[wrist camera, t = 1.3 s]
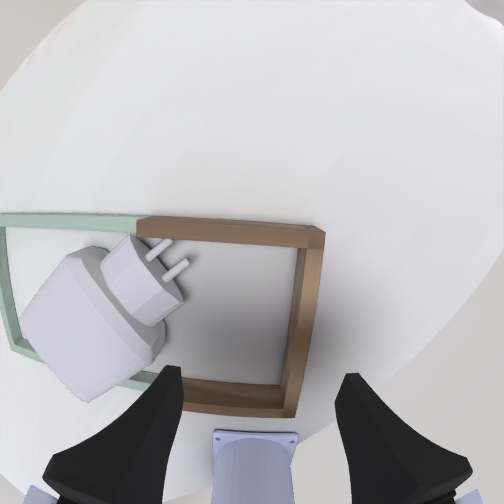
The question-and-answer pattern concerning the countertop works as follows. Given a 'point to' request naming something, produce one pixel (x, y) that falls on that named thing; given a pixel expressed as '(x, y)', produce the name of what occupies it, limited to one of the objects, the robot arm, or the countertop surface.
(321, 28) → the countertop surface
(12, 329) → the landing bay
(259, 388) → the brown wooden u-shaped frame
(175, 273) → the charger
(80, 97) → the countertop surface
